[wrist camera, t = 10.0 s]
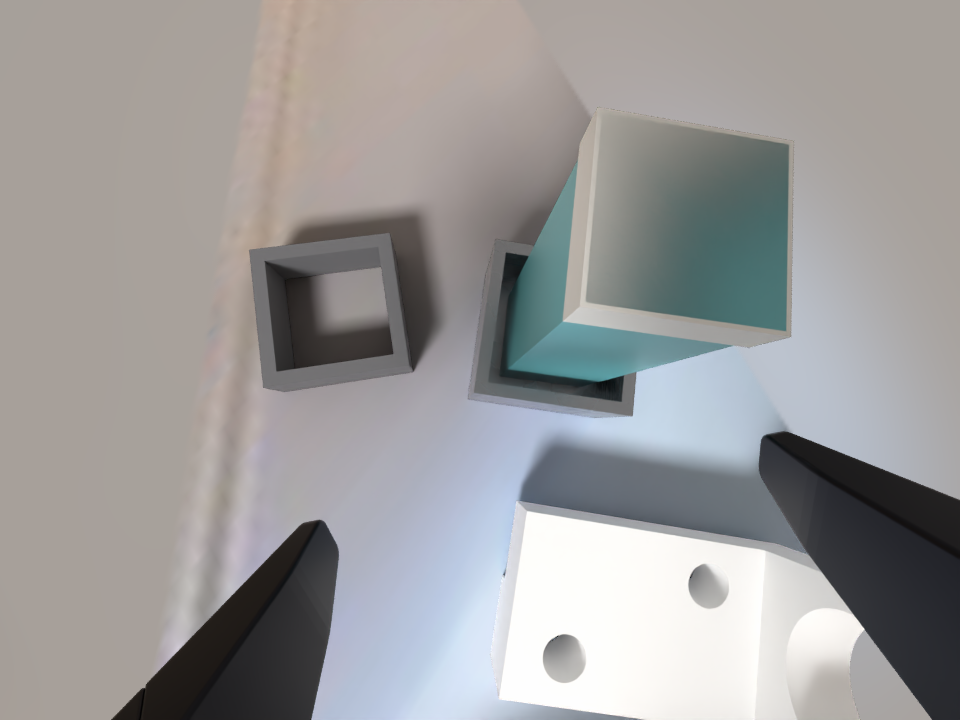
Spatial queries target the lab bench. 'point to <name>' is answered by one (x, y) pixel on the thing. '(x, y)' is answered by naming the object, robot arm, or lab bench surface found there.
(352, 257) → the frame
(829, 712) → the bracket
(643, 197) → the plug
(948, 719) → the robot arm
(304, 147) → the lab bench surface
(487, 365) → the box
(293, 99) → the lab bench surface
